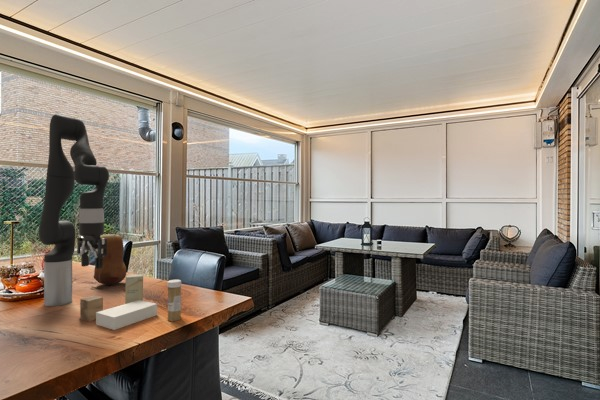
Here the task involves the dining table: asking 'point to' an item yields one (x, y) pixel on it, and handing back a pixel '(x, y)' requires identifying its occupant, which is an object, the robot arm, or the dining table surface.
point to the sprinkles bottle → (174, 300)
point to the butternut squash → (112, 262)
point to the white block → (126, 314)
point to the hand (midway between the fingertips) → (91, 267)
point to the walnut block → (90, 307)
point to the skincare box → (134, 288)
